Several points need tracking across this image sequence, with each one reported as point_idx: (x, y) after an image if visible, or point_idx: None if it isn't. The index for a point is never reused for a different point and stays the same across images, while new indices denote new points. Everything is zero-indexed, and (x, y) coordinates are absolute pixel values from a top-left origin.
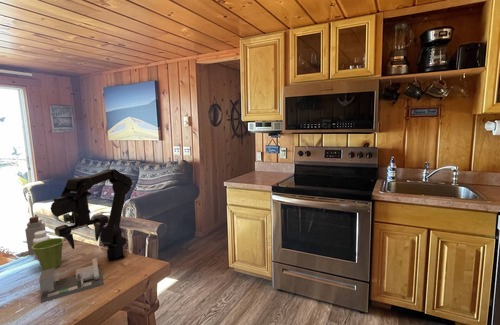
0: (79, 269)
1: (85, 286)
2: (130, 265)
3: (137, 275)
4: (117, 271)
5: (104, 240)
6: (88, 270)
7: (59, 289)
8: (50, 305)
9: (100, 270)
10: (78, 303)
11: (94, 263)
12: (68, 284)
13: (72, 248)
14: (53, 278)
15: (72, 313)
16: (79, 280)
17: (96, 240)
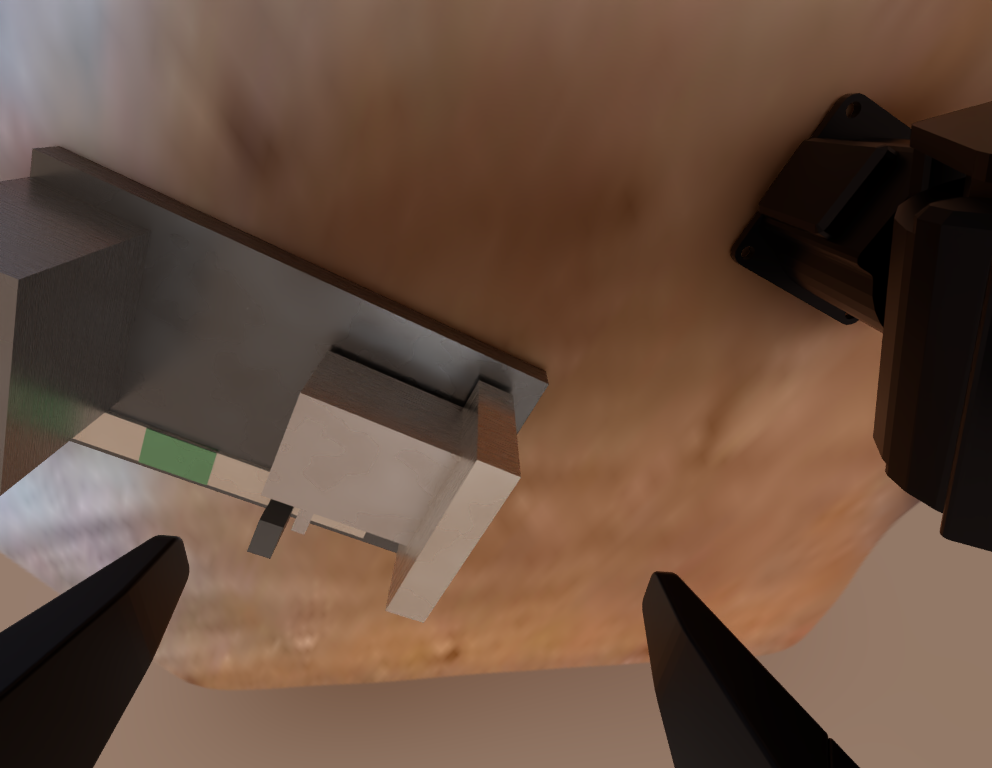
0: (324, 427)
1: (323, 523)
2: (726, 483)
3: (622, 619)
4: (609, 477)
5: (910, 328)
6: (374, 516)
7: (157, 400)
8: (92, 488)
9: (528, 401)
10: (240, 595)
11: (430, 566)
12: (235, 388)
13: (157, 545)
14: (44, 420)
15: (190, 640)
16: (267, 556)
17: (647, 591)
